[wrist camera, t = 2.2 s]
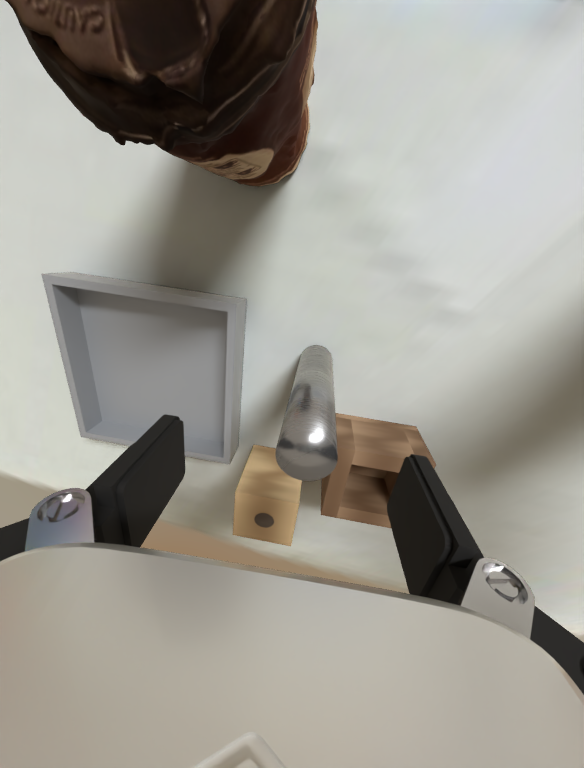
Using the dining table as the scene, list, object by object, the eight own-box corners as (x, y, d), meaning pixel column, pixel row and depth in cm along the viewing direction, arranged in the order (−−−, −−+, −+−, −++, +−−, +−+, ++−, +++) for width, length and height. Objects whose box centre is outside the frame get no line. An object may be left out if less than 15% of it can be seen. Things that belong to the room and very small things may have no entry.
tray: (246, 299, 21) (236, 304, 19) (238, 446, 27) (229, 464, 24) (72, 272, 22) (41, 273, 19) (101, 421, 28) (80, 436, 25)
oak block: (304, 453, 26) (299, 504, 21) (297, 491, 29) (290, 546, 23) (253, 444, 27) (235, 492, 21) (250, 482, 29) (232, 535, 23)
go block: (415, 425, 24) (436, 464, 19) (392, 485, 27) (406, 531, 22) (335, 411, 24) (337, 447, 20) (321, 472, 27) (320, 514, 23)
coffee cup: (287, 236, 19) (223, 199, 7) (174, 175, 18) (-105, 22, 6) (354, 74, 15) (447, -551, 3) (216, -10, 14) (-258, -1154, 3)
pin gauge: (335, 348, 22) (343, 437, 11) (329, 377, 23) (331, 485, 12) (302, 342, 22) (278, 425, 11) (298, 372, 23) (272, 475, 12)
